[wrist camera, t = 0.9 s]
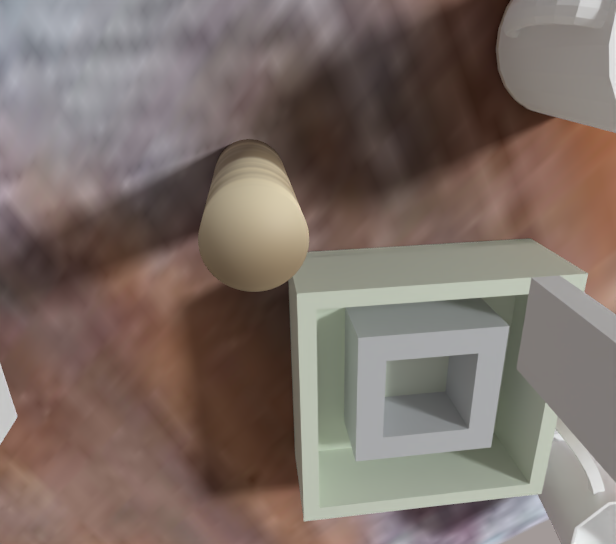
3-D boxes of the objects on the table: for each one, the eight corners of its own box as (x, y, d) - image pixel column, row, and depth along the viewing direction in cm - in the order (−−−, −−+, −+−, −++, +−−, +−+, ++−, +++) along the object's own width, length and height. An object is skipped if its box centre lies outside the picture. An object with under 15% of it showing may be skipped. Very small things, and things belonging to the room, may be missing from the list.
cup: (519, 496, 42) (578, 588, 35) (488, 410, 38) (547, 494, 31) (598, 463, 42) (674, 549, 34) (575, 373, 38) (655, 448, 30)
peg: (211, 140, 28) (192, 189, 17) (282, 138, 29) (308, 184, 18) (218, 209, 30) (203, 295, 19) (285, 206, 30) (310, 287, 19)
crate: (287, 253, 31) (296, 293, 26) (530, 238, 33) (588, 273, 27) (294, 454, 38) (304, 521, 32) (499, 433, 39) (541, 493, 34)
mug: (661, -37, 28) (880, -90, 18) (604, 130, 31) (765, 159, 21) (474, -75, 26) (608, -155, 16) (435, 107, 29) (528, 128, 20)
